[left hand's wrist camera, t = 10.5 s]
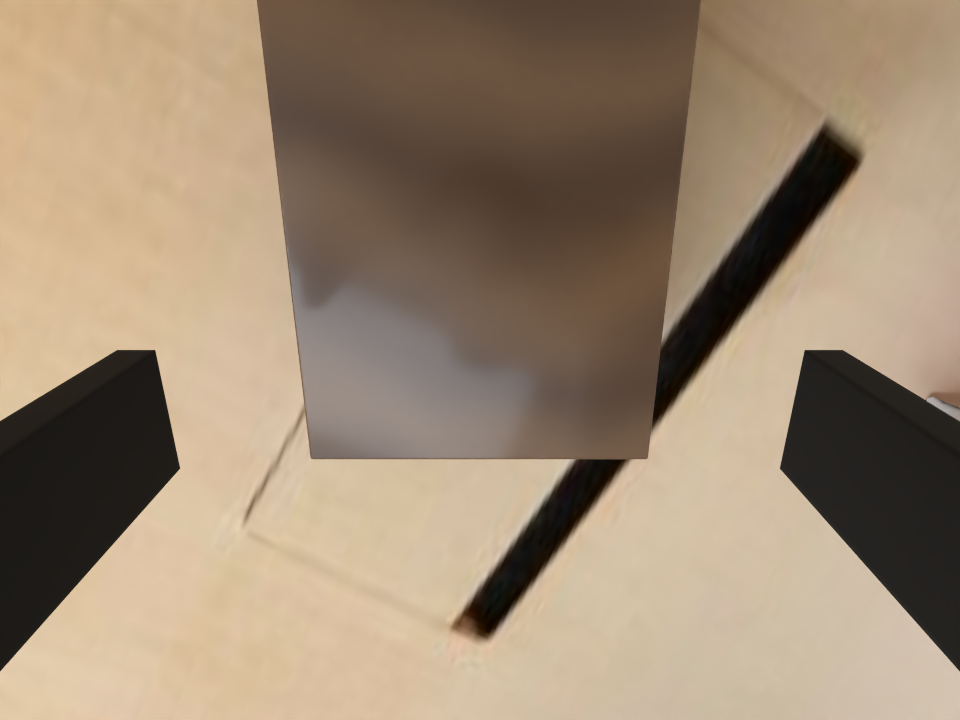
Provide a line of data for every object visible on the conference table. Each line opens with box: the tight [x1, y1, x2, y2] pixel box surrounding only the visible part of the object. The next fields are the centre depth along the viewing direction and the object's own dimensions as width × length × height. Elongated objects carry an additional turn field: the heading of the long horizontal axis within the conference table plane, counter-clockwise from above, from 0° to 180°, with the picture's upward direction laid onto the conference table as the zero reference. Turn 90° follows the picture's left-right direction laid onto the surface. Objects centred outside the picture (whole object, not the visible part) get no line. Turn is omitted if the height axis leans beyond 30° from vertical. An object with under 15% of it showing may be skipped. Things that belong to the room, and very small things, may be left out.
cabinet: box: [257, 0, 701, 459], centre depth 21 cm, size 19×11×10 cm, turn 0°
